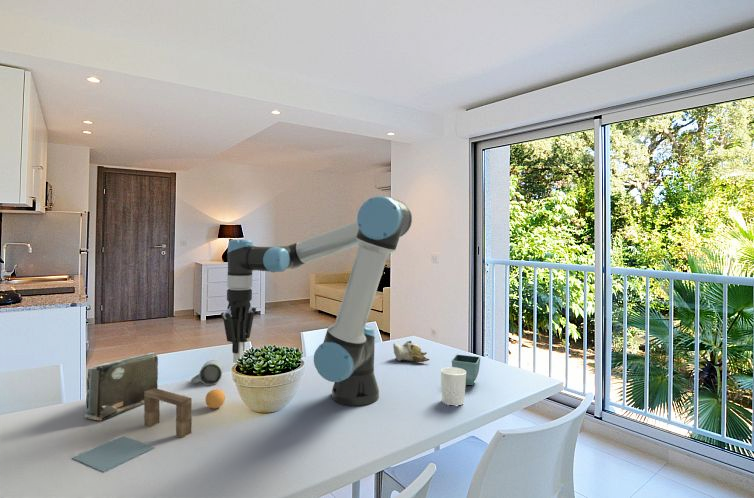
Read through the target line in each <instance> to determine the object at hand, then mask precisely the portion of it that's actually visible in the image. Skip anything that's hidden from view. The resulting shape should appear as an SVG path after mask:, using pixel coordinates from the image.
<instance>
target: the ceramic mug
mask: <svg viewBox="0 0 754 498" xmlns="http://www.w3.org/2000/svg"><path fill="white" fill-rule="evenodd" d="M223 372H224V367H223V365H222V363H221V362H220V361H219V360H216V359H211V360H207V361H206V362H205V363H204V364H203V366H202V367H201V369H200V370H199V373H198V374H196V375H195V376H193V377H192V378H191V379H190V381H191V383H192V384H194V385H195V384H198V383H200V382H201V383H202V384H203V385H206V386H214V385H216V384H218V383H219V381H220V380H221V379H222V375H223Z"/></svg>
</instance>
